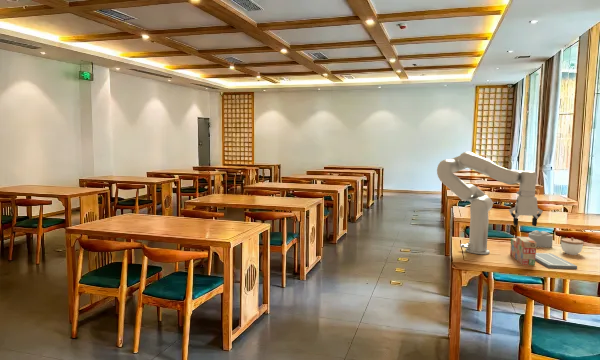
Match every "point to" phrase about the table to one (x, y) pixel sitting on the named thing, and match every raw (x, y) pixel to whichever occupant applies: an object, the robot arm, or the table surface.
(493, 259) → the table surface
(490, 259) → the table surface
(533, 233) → the grey bumpy block
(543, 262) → the foundation board
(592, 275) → the table surface
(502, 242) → the table surface
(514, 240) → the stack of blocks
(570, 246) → the lidded jar
